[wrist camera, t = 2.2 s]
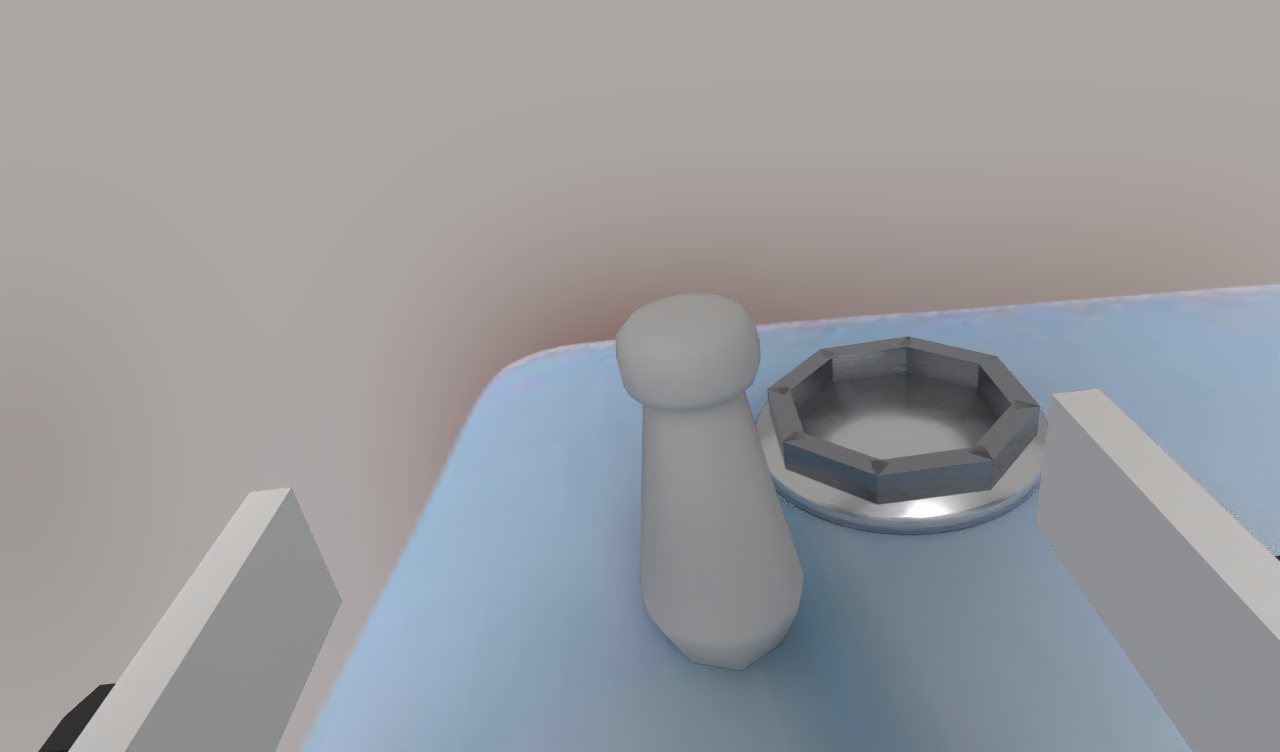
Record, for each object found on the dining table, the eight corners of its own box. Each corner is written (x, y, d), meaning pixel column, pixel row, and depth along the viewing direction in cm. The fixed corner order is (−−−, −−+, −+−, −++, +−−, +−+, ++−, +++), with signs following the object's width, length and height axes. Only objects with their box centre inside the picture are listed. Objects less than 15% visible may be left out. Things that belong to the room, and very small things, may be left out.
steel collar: (981, 357, 42) (983, 316, 41) (1108, 511, 31) (1116, 460, 30) (742, 391, 43) (737, 352, 42) (780, 553, 32) (775, 505, 31)
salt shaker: (793, 706, 26) (758, 363, 20) (631, 678, 28) (552, 359, 22) (817, 579, 30) (795, 269, 24) (677, 562, 33) (623, 273, 26)
